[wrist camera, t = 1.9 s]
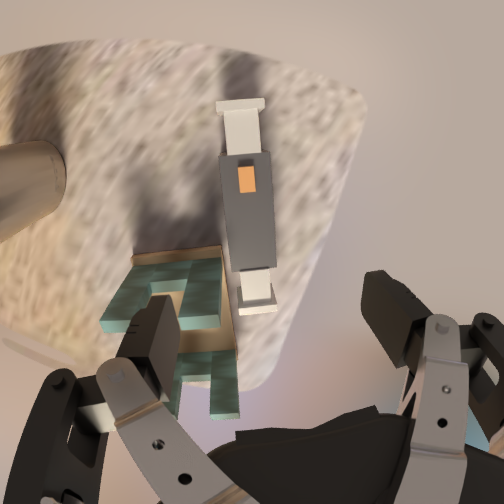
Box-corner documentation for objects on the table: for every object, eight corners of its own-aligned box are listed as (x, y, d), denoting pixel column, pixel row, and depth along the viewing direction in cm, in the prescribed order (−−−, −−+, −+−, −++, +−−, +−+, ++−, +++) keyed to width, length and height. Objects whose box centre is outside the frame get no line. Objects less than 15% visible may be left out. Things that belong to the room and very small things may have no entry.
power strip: (235, 283, 31) (237, 315, 25) (216, 110, 24) (212, 102, 18) (270, 279, 31) (279, 311, 26) (258, 106, 24) (266, 97, 18)
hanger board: (166, 359, 35) (153, 423, 25) (133, 254, 29) (94, 311, 19) (237, 355, 35) (241, 422, 25) (221, 245, 29) (217, 304, 19)
